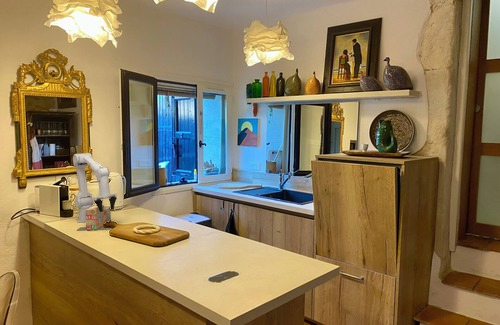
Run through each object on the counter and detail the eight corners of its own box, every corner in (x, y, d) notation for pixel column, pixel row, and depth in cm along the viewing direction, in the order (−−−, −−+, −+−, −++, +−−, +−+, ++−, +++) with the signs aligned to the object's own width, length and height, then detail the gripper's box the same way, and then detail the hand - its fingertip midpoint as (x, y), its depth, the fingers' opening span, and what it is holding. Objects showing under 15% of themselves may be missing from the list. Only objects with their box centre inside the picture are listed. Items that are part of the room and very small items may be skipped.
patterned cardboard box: (101, 221, 237) (100, 202, 236) (111, 221, 237) (110, 202, 236) (86, 229, 215) (85, 209, 215) (96, 229, 215) (95, 209, 214)
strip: (80, 227, 222) (80, 227, 222) (114, 226, 223) (114, 226, 223) (76, 230, 216) (76, 230, 216) (111, 229, 218) (111, 228, 217)
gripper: (96, 189, 211) (99, 212, 211) (118, 186, 223) (121, 208, 223) (90, 189, 215) (92, 212, 215) (111, 186, 227) (114, 208, 227)
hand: (106, 210), depth 219 cm, fingers open, 7 cm apart
